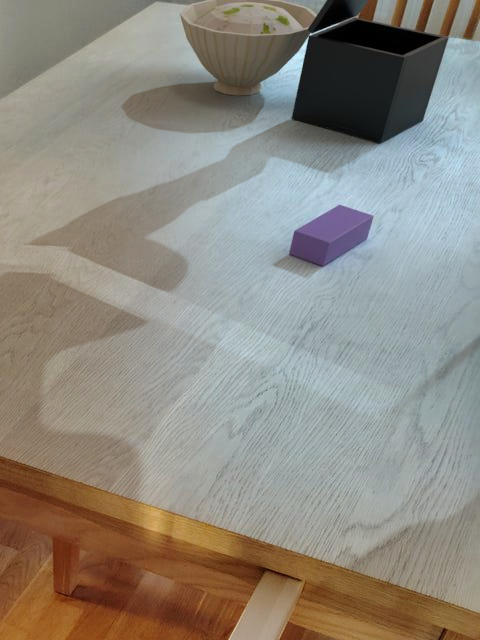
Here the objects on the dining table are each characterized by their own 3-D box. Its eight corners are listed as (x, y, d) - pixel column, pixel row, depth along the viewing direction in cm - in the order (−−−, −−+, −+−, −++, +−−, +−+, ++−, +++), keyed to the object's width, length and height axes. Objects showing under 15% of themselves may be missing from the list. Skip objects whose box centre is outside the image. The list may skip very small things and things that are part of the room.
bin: (423, 120, 121) (449, 37, 114) (380, 143, 116) (404, 57, 109) (335, 97, 128) (354, 17, 120) (291, 118, 122) (308, 35, 115)
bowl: (172, 64, 138) (181, -14, 131) (300, 68, 136) (317, -11, 129) (169, 107, 126) (179, 23, 118) (310, 113, 124) (329, 28, 116)
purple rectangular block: (333, 227, 100) (339, 204, 98) (367, 238, 98) (374, 215, 96) (288, 254, 96) (293, 230, 94) (323, 266, 94) (329, 242, 92)
